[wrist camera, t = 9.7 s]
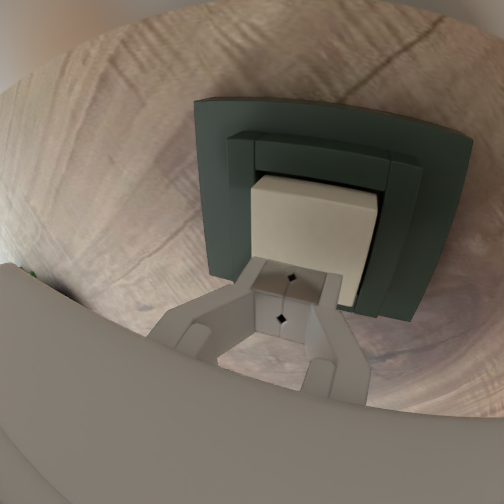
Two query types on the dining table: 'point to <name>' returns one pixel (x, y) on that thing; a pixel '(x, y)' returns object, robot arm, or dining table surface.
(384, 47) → the dining table surface
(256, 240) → the key
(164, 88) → the dining table surface
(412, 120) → the stepped green tier
